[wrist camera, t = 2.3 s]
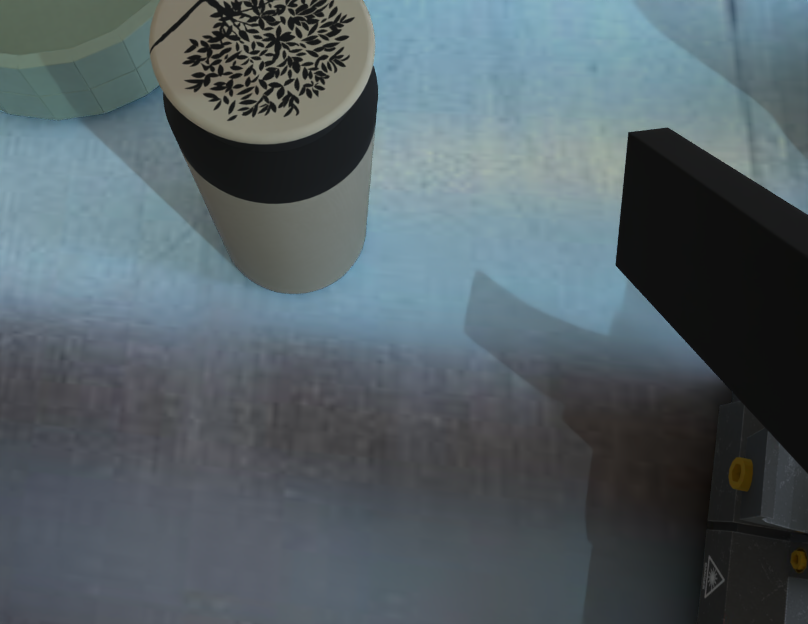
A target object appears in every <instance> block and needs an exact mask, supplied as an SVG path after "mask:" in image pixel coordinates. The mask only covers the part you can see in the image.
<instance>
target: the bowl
mask: <svg viewBox="0 0 808 624" xmlns="http://www.w3.org/2000/svg"><path fill="white" fill-rule="evenodd" d="M159 1H160V0H0V110H1V111H3V112H5V113H7V114H12V115H20V116H27V117H34V118H42V119H49V120H64V119H71V118H78V117H85V116H92V115H100V114H104V113H108V112H110V111H112V110H114V109H117V108H119V107H121V106H124V105H126V104H128V103H130V102H133V101H135V100H137V99H139V98H142V97H144V96H146V95H148V94H149V93H151V92H152V91H153V90H154V89H155V88H156V87H158V86H159V83H158V81H157V79H156V76H155V73H154V71H153V68H152V63H151V59H150V51H149V35H150V27H151V23H152V19H153V16H154V13H155V10H156V7H157V5H158V3H159Z"/></svg>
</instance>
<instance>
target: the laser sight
mask: <svg viewBox="0 0 808 624" xmlns="http://www.w3.org/2000/svg"><path fill="white" fill-rule="evenodd" d="M697 624H808V474H807V473H806V471H805V470H804V469H803V468H802V467H801V466H800V465H799V464H798V463H797V462H796V461H795V460H794V458H793V457H792V456H791V455H790V454H789V453H788V452H787V451H786V450H785V449H784V448H783V446H782V445H781V444H780V443H779V442H778V441H777V440H776V439H775V438H774V437H773V436H772V435H771V433H770V432H769V431H768V430H767V429H766V428H765V427H764V426H763V425H762V424H761V423H760V422H759V420H758V419H757V418H756V417H755V416H754V415H753V414H752V413H751V412H750V411H749V410H748V408H747V407H746V406H745V405H744V404H743V403H742V402H741V401H740V400H739V399H738V398H737V397H736V395H735V394H734V393H733V395H732V403H729V404H725V405H721V406H720V409H719V418H718V428H717V438H716V447H715V457H714V466H713V476H712V485H711V495H710V505H709V514H708V524H707V533H706V543H705V553H704V562H703V572H702V581H701V591H700V600H699V610H698V620H697Z"/></svg>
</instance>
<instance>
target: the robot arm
mask: <svg viewBox="0 0 808 624" xmlns="http://www.w3.org/2000/svg"><path fill="white" fill-rule="evenodd" d="M616 266H617V267H618V268H619V270H620V271H621V272H622V273H623V274H624V275H625V276H626V277H627V278H628V279H629V280H630V282H631V283H632V284H633V285H634V286H635V287H636V288H637V289H638V290H639V291H640V292H641V293H642V295H643V296H644V297H645V298H646V299H647V300H648V301H649V302H650V303H651V304H652V305H653V306H654V308H655V309H656V310H657V311H658V312H659V313H660V314H661V315H662V316H663V317H664V318H665V320H666V321H667V322H668V323H669V324H670V325H671V326H672V327H673V328H674V329H675V330H676V331H677V333H678V334H679V335H680V336H681V337H682V338H683V339H684V340H685V341H686V342H687V343H688V344H689V346H690V347H691V348H692V349H693V350H694V351H695V352H696V353H697V354H698V355H699V356H700V357H701V359H702V360H703V361H704V362H705V363H706V364H707V365H708V366H709V367H710V368H711V369H712V371H713V372H714V373H715V374H716V375H717V376H718V377H719V378H720V379H721V380H722V381H723V382H724V384H725V385H726V386H727V387H728V388H729V389H730V390H731V391H732V392H733V393H734V394H735V395H736V397H737V398H738V399H739V400H740V401H741V402H742V403H743V404H744V405H745V406H746V407H747V408H748V410H749V411H750V412H751V413H752V414H753V415H754V416H755V417H756V418H757V419H758V420H759V422H760V423H761V424H762V425H763V426H764V427H765V428H766V429H767V430H768V431H769V432H770V433H771V435H772V436H773V437H774V438H775V439H776V440H777V441H778V442H779V443H780V444H781V445H782V446H783V448H784V449H785V450H786V451H787V452H788V453H789V454H790V455H791V456H792V457H793V458H794V460H795V461H796V462H797V463H798V464H799V465H800V466H801V467H802V468H803V469H804V470H805V471H806V473H807V474H808V215H807V214H805V213H804V212H802V211H801V210H799V209H797V208H796V207H794V206H793V205H791V204H789V203H788V202H786V201H785V200H783V199H781V198H780V197H778V196H777V195H775V194H773V193H772V192H770V191H769V190H767V189H765V188H764V187H762V186H761V185H759V184H757V183H756V182H754V181H753V180H751V179H749V178H748V177H746V176H745V175H743V174H741V173H740V172H738V171H737V170H735V169H733V168H732V167H730V166H729V165H727V164H725V163H724V162H722V161H721V160H719V159H717V158H716V157H714V156H713V155H711V154H709V153H708V152H706V151H705V150H703V149H701V148H700V147H698V146H697V145H695V144H693V143H692V142H690V141H689V140H687V139H685V138H684V137H682V136H681V135H679V134H677V133H676V132H674V131H673V130H671V129H669V128H660V129H651V130H643V131H635V132H628V142H627V153H626V163H625V173H624V184H623V194H622V204H621V214H620V225H619V235H618V245H617V256H616Z"/></svg>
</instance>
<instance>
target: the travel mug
mask: <svg viewBox="0 0 808 624" xmlns="http://www.w3.org/2000/svg"><path fill="white" fill-rule="evenodd" d="M149 51H150V59H151V63H152V68H153V71H154V73H155V76H156V79H157V81H158V83H159V85H160V87H161V89H162V90H163V100H164V107H165V112H166V116H167V119H168V122H169V125H170V127H171V129H172V132H173V134H174V136H175V138H176V140H177V143H178V145H179V147H180V149H181V151H182V153H183V156H184V158H185V160H186V162H187V164H188V167H189V169H190V171H191V173H192V175H193V177H194V180H195V182H196V184H197V186H198V188H199V191H200V193H201V195H202V197H203V199H204V202H205V204H206V206H207V208H208V210H209V212H210V215H211V217H212V219H213V221H214V223H215V226H216V228H217V230H218V232H219V234H220V236H221V239H222V241H223V243H224V245H225V247H226V250H227V252H228V254H229V256H230V258H231V259H232V261H233V263H234V264H235V266H236V267H237V268H238V269H239V270H240V271H241V272H242V273H243V274H244V275H245V276H246V277H247V278H248V279H250V280H251V281H253V282H254V283H256V284H257V285H259V286H261V287H264V288H266V289H269V290H272V291H275V292H280V293H287V294H301V293H308V292H313V291H316V290H319V289H322V288H324V287H327V286H329V285H331V284H332V283H334V282H335V281H337V280H338V279H340V278H341V277H342V276H343V275H344V274H346V273H347V272H348V271H349V269H350V268H351V267H352V266H353V264H354V263H355V262H356V260H357V258H358V256H359V255H360V252H361V250H362V248H363V244H364V241H365V235H366V225H367V213H368V202H369V191H370V180H371V169H372V157H373V146H374V135H375V124H376V113H377V101H378V85H377V77H376V73H375V69H374V66H373V63H374V56H375V35H374V29H373V24H372V21H371V17H370V14H369V12H368V10H367V7H366V5H365V3H364V1H363V0H160V1H159V3H158V5H157V7H156V10H155V13H154V16H153V19H152V23H151V27H150V35H149Z"/></svg>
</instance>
